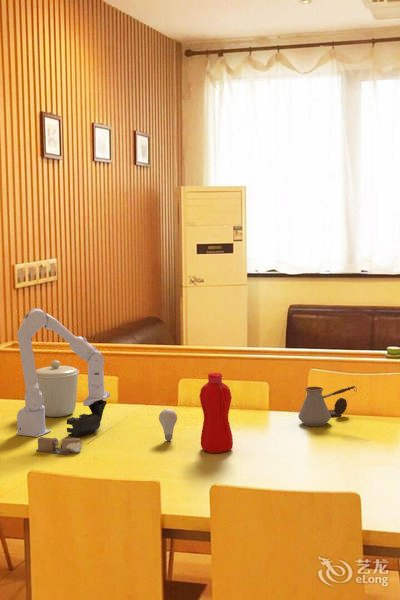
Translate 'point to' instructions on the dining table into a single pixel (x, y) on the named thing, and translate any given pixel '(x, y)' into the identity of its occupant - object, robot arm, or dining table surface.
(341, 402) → the compass
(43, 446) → the shaft rig
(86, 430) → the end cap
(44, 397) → the canister
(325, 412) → the coffee pot
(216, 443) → the water bottle
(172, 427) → the lightbulb
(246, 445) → the dining table surface
